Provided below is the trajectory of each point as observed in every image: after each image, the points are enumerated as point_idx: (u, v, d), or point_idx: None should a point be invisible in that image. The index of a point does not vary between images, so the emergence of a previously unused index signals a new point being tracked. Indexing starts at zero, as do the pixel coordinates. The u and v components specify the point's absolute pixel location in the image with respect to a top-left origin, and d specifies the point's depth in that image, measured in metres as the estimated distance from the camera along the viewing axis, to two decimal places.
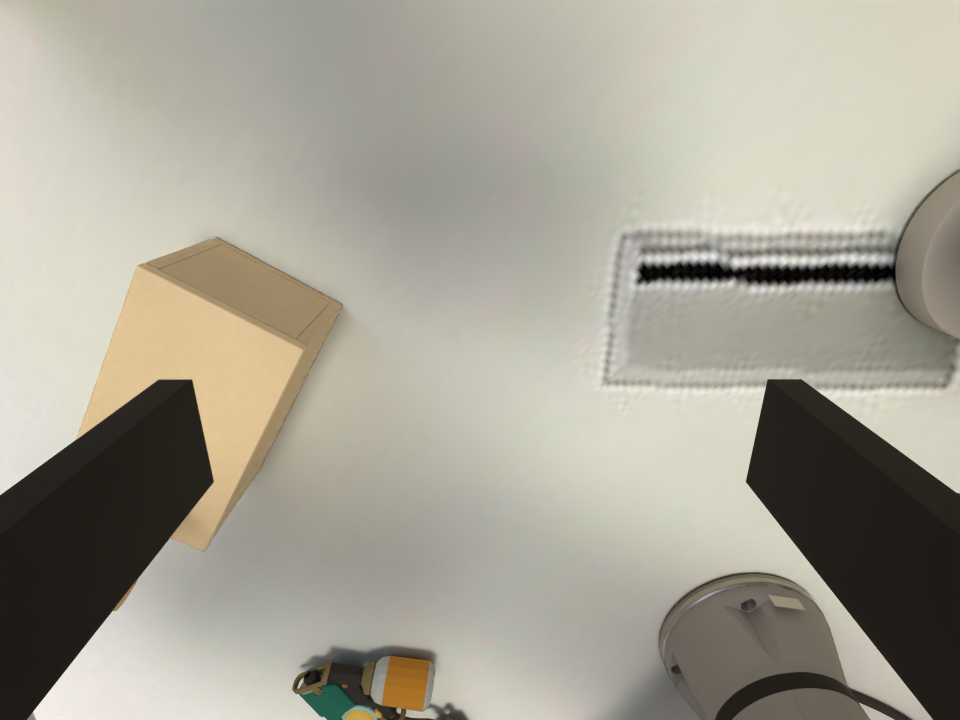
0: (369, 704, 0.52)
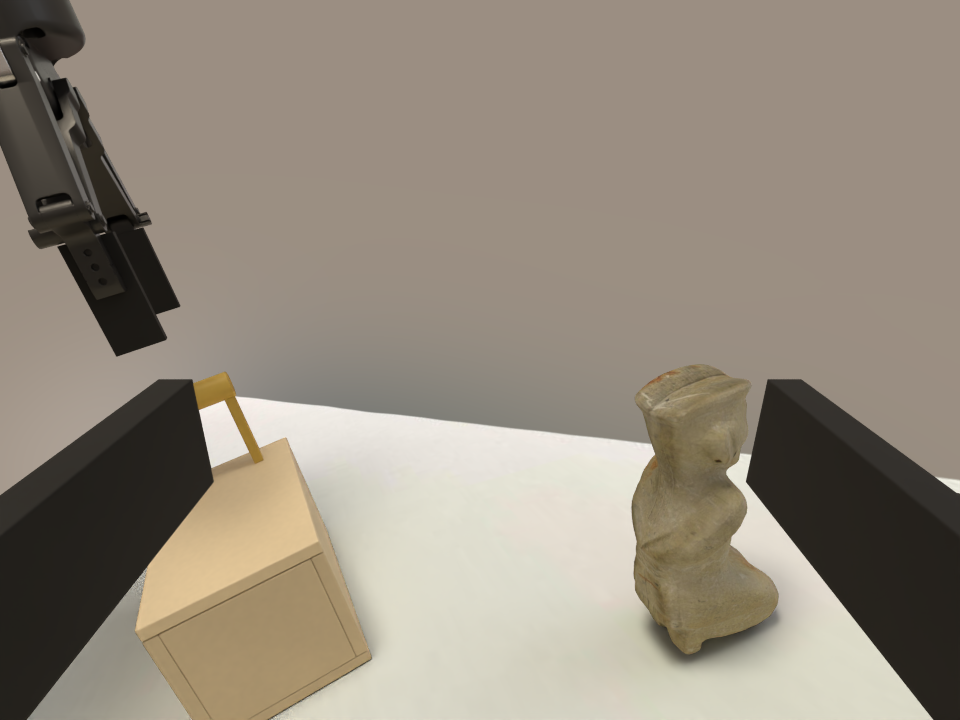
0: None
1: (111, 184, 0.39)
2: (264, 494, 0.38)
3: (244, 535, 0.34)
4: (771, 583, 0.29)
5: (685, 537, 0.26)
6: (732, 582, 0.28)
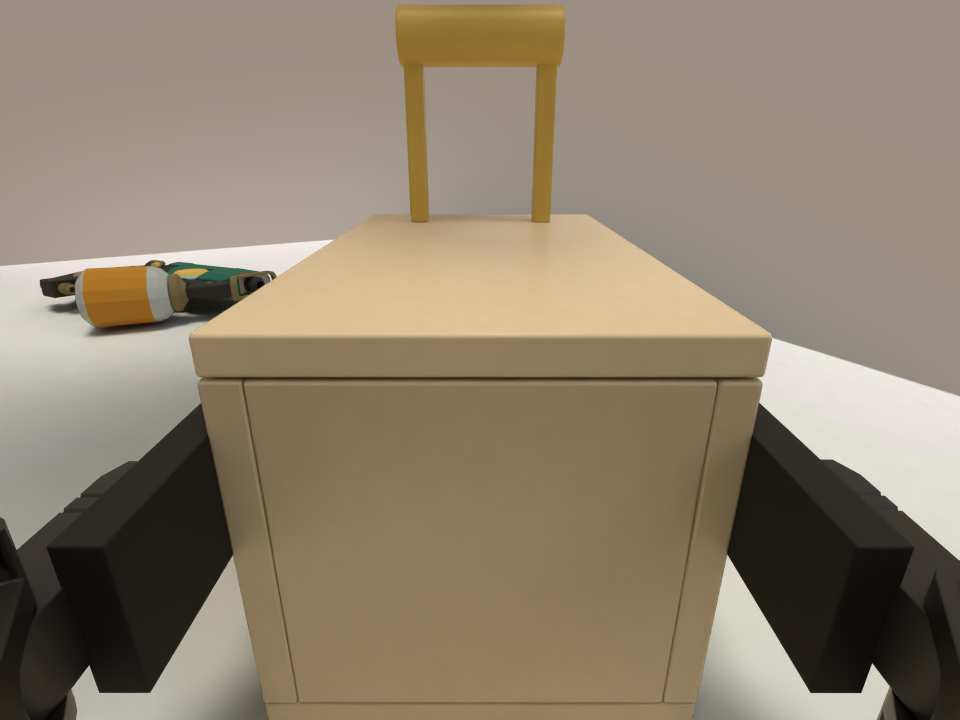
0: None
1: None
2: (560, 247, 0.17)
3: (517, 276, 0.13)
4: None
5: None
6: None
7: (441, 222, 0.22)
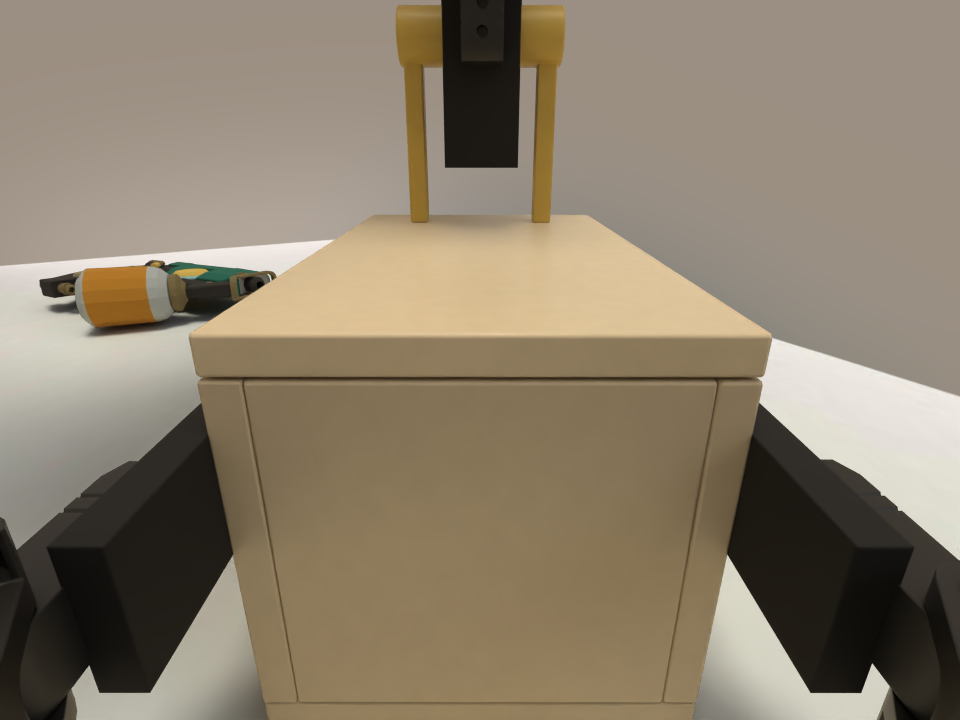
0: None
1: None
2: (560, 247, 0.17)
3: (517, 276, 0.13)
4: None
5: None
6: None
7: (441, 222, 0.22)
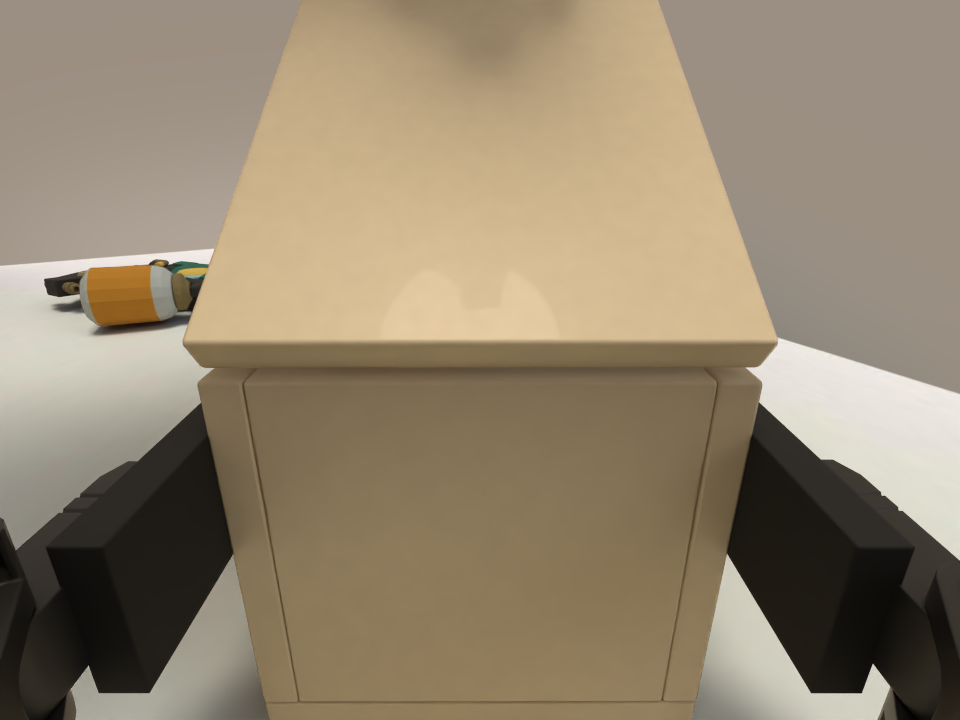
0: None
1: None
2: (581, 59, 0.13)
3: (524, 169, 0.11)
4: None
5: None
6: None
7: None
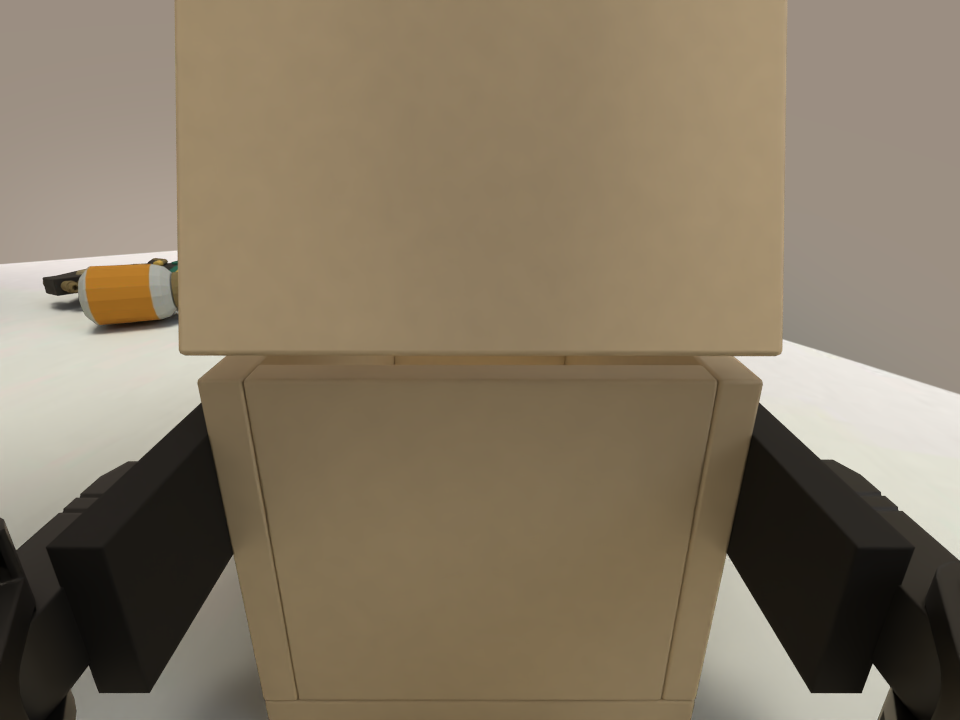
0: None
1: None
2: None
3: (537, 87, 0.09)
4: None
5: None
6: None
7: None
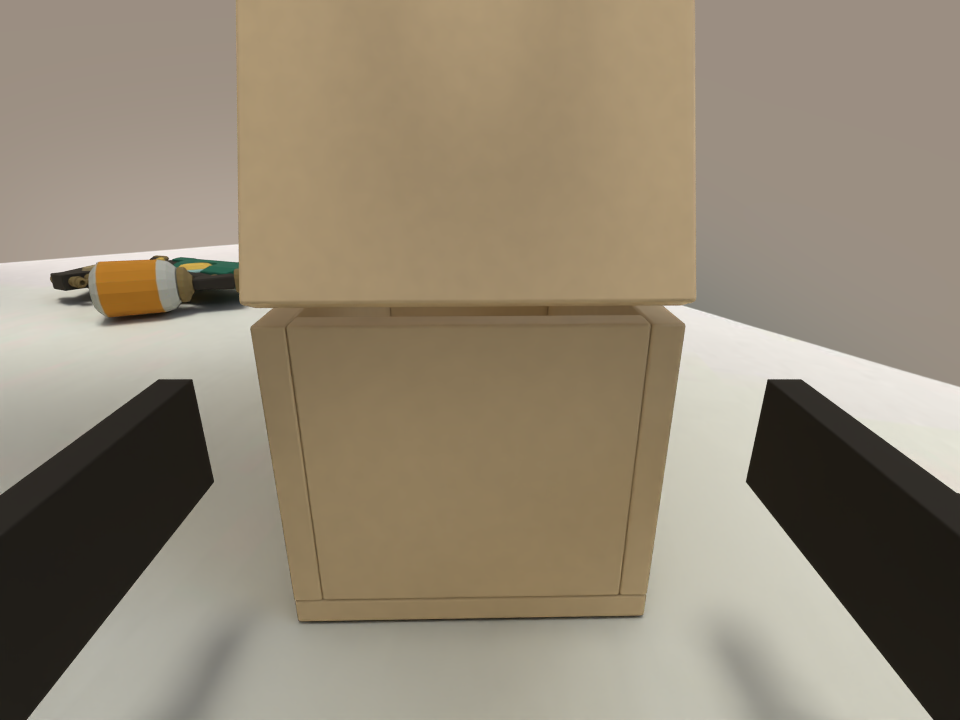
0: None
1: None
2: None
3: (510, 102, 0.12)
4: None
5: None
6: None
7: None
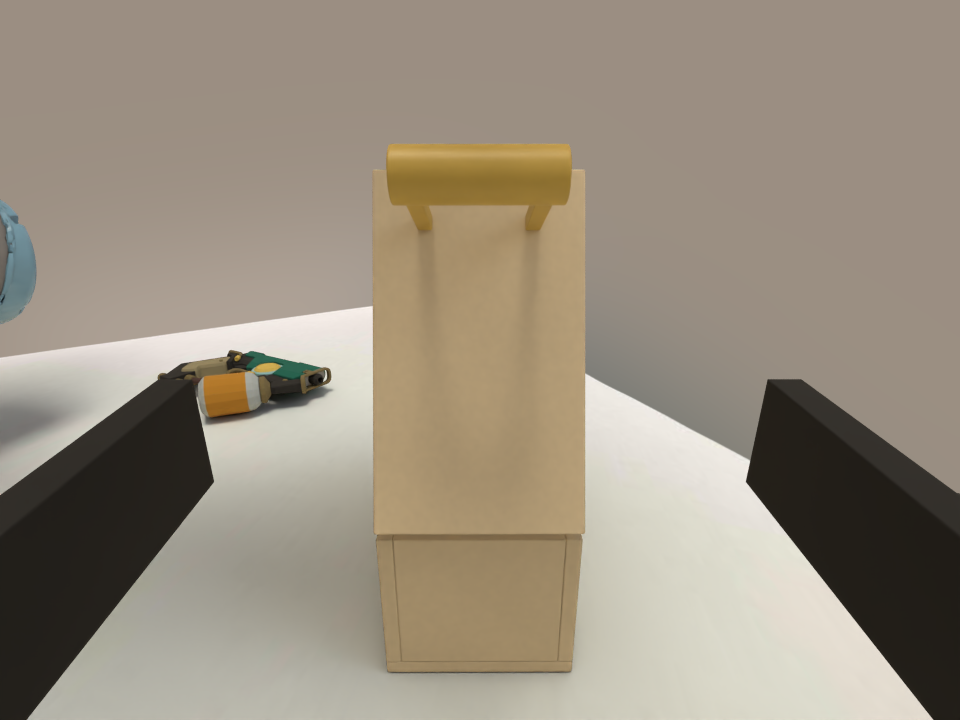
0: (259, 375, 0.60)
1: None
2: (532, 355, 0.25)
3: (498, 442, 0.25)
4: None
5: None
6: None
7: (444, 229, 0.25)
